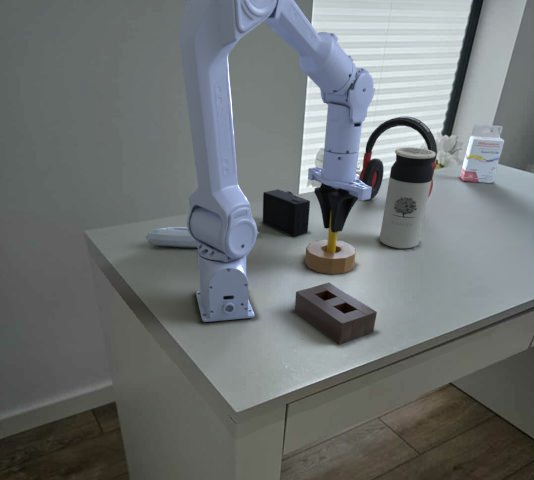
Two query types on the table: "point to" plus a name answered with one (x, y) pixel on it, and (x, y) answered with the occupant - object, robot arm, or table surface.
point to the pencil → (331, 239)
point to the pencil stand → (335, 312)
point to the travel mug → (407, 197)
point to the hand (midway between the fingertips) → (333, 229)
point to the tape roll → (330, 257)
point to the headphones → (374, 167)
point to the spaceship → (172, 237)
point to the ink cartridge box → (482, 154)
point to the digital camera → (286, 212)
